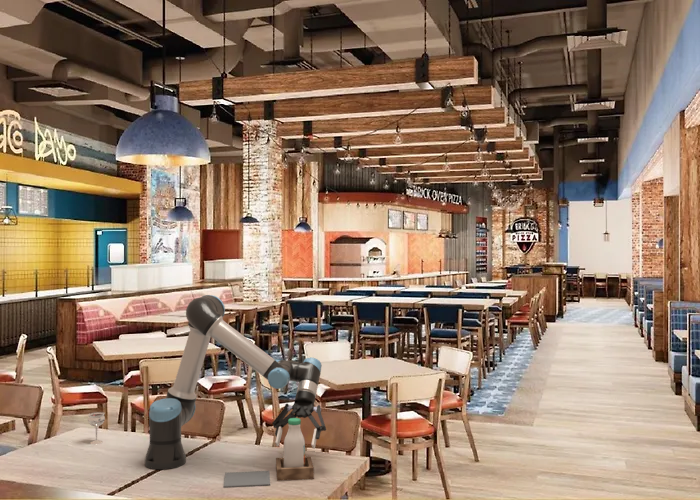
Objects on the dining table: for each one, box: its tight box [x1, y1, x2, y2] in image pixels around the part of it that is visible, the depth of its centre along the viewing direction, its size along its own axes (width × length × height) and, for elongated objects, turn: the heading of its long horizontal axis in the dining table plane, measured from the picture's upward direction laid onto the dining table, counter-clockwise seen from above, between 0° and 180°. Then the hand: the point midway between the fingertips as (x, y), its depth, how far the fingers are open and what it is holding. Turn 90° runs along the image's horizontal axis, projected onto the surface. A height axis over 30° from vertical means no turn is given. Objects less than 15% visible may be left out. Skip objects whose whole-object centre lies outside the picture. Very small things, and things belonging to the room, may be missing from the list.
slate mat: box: [223, 470, 271, 489], centre depth 245 cm, size 16×14×1 cm
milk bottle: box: [283, 417, 306, 468], centre depth 251 cm, size 8×8×20 cm
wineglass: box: [87, 411, 106, 445], centre depth 289 cm, size 7×7×12 cm
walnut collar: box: [275, 455, 315, 481], centre depth 251 cm, size 13×13×4 cm
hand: (294, 445), depth 250 cm, fingers open, 13 cm apart
